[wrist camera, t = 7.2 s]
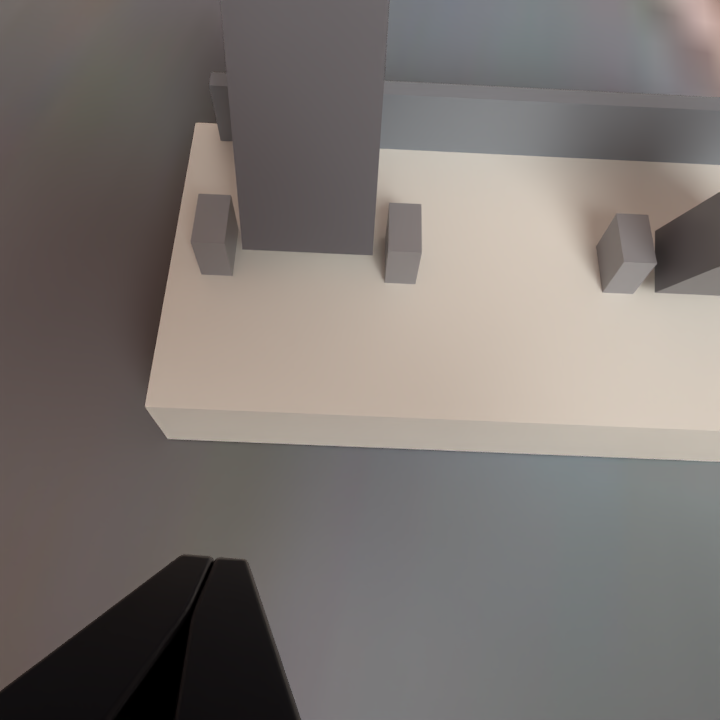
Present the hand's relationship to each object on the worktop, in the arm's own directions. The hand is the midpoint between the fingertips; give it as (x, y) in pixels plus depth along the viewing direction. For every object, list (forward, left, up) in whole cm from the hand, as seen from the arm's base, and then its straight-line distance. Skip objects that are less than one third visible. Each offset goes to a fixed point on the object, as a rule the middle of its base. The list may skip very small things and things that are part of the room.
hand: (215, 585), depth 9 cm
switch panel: (+7, -11, -12) cm, 18 cm away
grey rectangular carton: (+10, -5, -9) cm, 15 cm away
